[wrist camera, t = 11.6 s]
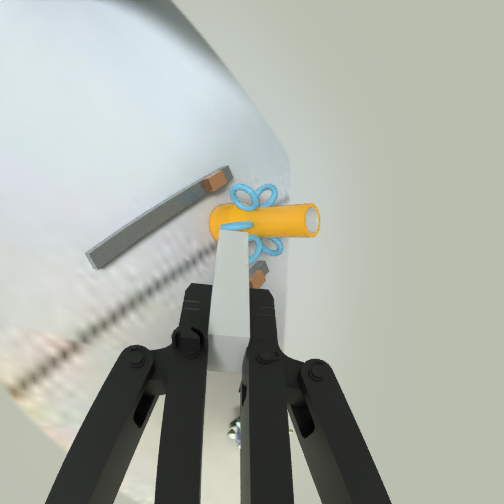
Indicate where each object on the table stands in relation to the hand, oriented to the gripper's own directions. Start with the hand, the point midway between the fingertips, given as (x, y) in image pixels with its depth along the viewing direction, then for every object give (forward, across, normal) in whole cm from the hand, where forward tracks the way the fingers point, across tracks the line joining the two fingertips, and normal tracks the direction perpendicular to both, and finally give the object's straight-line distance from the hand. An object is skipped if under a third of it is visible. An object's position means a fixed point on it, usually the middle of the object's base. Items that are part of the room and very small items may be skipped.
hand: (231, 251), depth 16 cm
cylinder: (+25, -1, -14) cm, 29 cm away
